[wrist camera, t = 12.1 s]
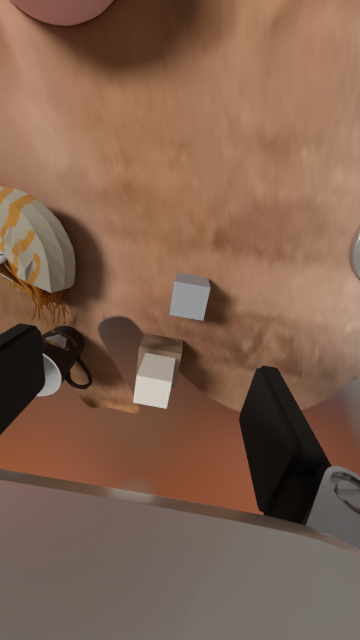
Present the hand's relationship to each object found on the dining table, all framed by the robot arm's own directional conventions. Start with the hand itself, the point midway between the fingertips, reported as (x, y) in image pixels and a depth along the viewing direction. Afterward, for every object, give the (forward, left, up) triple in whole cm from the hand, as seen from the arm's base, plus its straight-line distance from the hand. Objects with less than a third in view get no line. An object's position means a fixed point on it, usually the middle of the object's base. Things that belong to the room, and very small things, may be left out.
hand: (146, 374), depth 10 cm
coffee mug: (+18, +19, -28) cm, 39 cm away
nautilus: (+22, +4, -29) cm, 36 cm away
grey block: (-2, +4, -28) cm, 29 cm away
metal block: (+1, +17, -29) cm, 33 cm away
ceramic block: (+1, +17, -24) cm, 29 cm away
